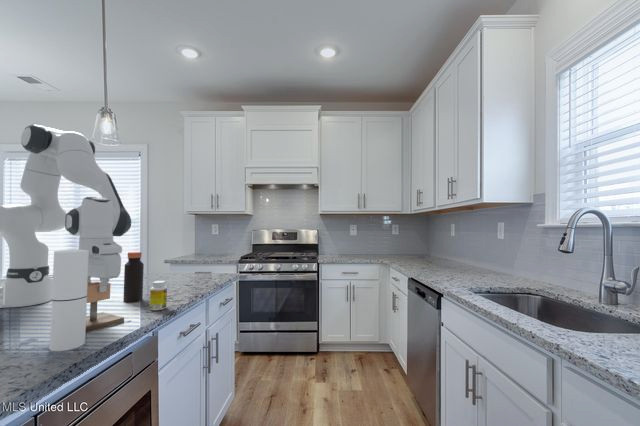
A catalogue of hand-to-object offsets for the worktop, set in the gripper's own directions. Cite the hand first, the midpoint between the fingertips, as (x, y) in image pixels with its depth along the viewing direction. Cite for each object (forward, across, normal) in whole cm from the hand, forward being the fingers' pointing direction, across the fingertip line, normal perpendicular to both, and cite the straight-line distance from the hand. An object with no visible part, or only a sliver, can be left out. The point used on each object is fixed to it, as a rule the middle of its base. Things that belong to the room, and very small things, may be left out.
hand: (94, 290), depth 95 cm
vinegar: (+11, -18, +24) cm, 32 cm away
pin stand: (+11, 0, 0) cm, 11 cm away
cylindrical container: (+11, +12, -12) cm, 20 cm away
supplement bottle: (+11, +2, +21) cm, 24 cm away
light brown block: (+3, 0, 0) cm, 3 cm away
